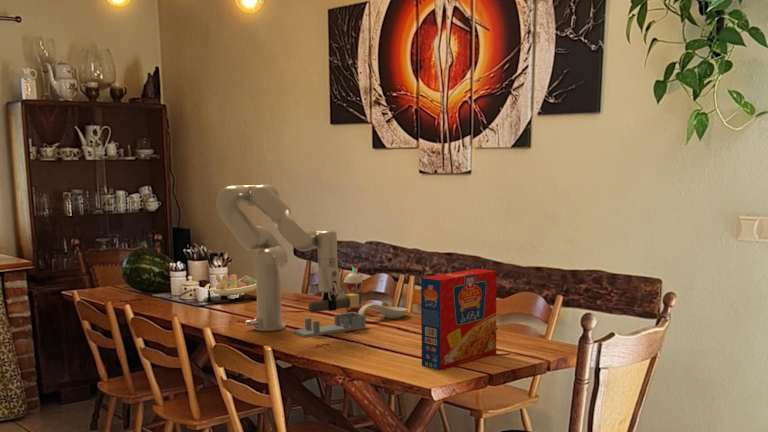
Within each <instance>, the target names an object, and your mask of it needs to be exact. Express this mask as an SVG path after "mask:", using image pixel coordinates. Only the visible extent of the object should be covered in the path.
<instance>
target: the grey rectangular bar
mask: <svg viewBox="0 0 768 432" xmlns="http://www.w3.org/2000/svg"><path fill="white" fill-rule="evenodd" d="M328 301H329V300H323V301H322V300H317V301H310V302H309V303H308V311H309V312H310V313H319V312H326V311H329V310H328ZM347 307H348V308H355V307H359V295H358V294H354V293H351V294H345V293H344V294H343V297H339V298H338V297H337V300H336V310H338V309H340V310H341V309H346V308H347Z"/></svg>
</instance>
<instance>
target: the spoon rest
mask: <svg viewBox="0 0 768 432" xmlns="http://www.w3.org/2000/svg"><path fill="white" fill-rule="evenodd" d="M370 308H376V309H377V311H379V312H380V314H382V316H384V317H385V318H386V319H400V318H402V317H404V316H405V315H406V314H407V313H408V308H405V307H399V306H383V305H381V304H377V303H373V302H372V303H371V302H369V303H366V304H365V305H363V306H361V309H360V310H359V311H358V313H359V314H362V315H365V313H366V312H367V310H368V309H370Z"/></svg>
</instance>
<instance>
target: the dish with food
mask: <svg viewBox="0 0 768 432" xmlns="http://www.w3.org/2000/svg"><path fill="white" fill-rule="evenodd" d="M215 278H216V280H217V282H218V283H219V282H220V283H219V284H218V285H217V286H216V289H209V286H210V283H207V284H206V285H205V286H204V287H203V288H206V289H208V290H209V291H213V292H214V293H215V294H219V295H218V296H221V297H226V296H230V295H238V294H240V295H243V294H247V293H249V292H252V291H254V290H256V278H253V277H252V276H249V275H244V276H242V277H241V278H239V275H237V274H236V273H234V274H230V275H229V276H228V274H227V273H224V274H223V276H222V277H221V276H220V274H219V273H218V274H216V275H215ZM227 288H228V289H227ZM242 293H243V294H242Z"/></svg>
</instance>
